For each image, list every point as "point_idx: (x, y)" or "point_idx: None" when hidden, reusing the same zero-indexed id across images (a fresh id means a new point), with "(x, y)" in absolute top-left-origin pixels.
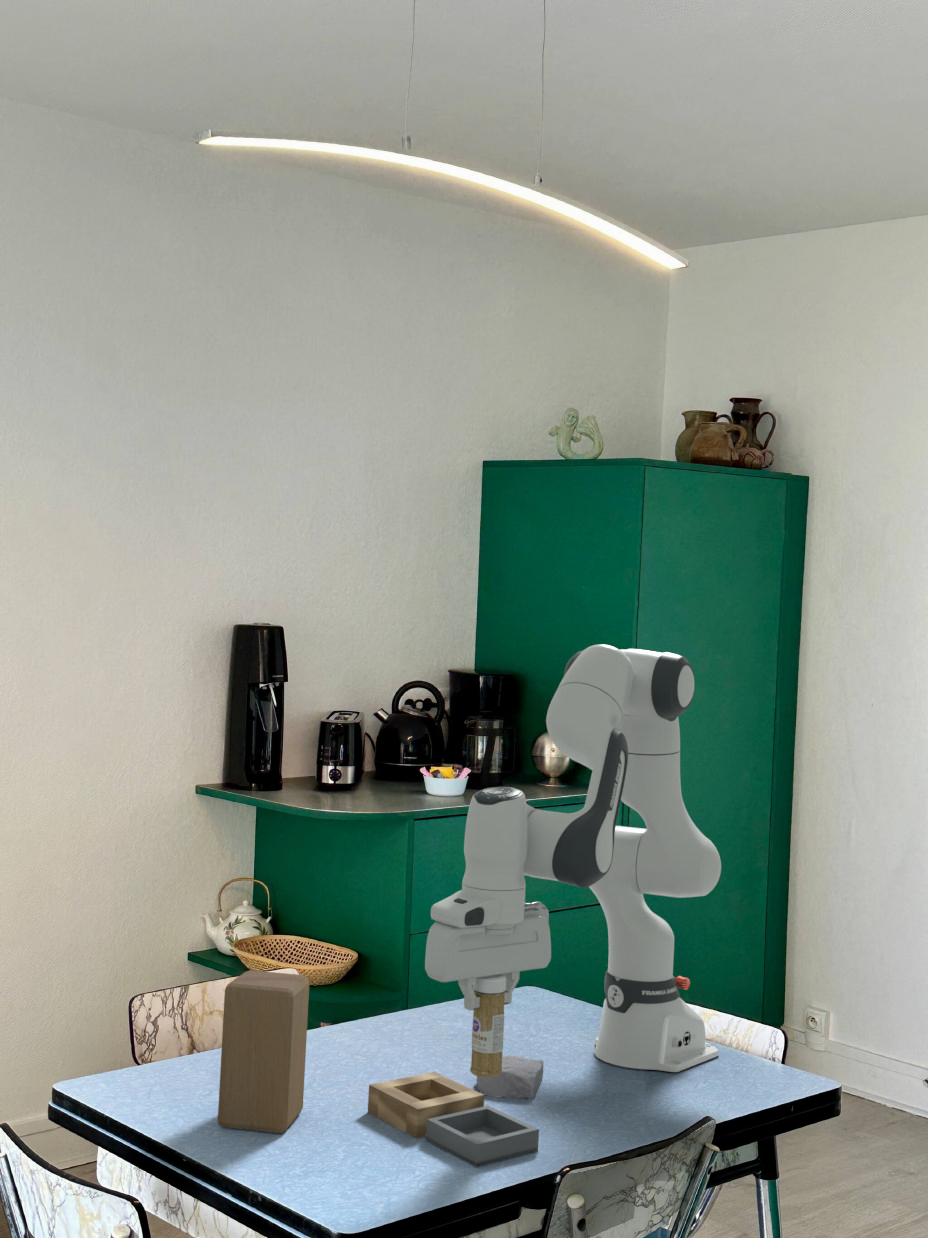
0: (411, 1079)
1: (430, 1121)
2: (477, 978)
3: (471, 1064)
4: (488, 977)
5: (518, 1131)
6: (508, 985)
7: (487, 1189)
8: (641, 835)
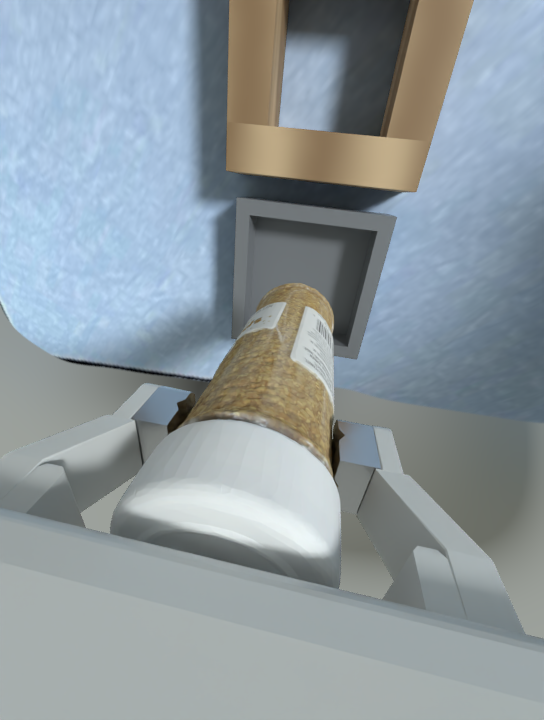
0: None
1: (236, 209)
2: None
3: (260, 304)
4: None
5: None
6: (384, 536)
7: (209, 373)
8: None
